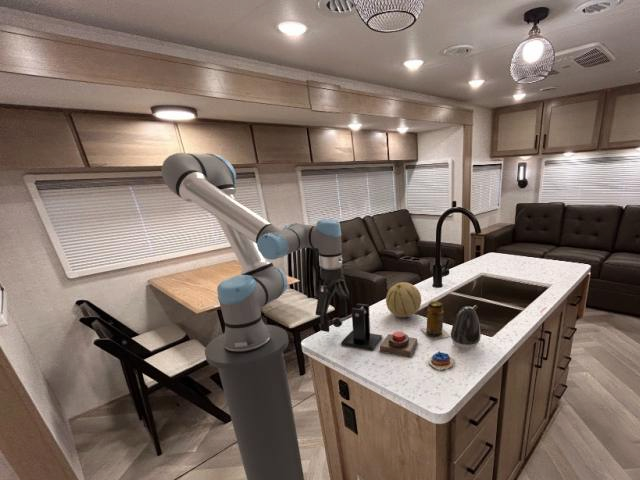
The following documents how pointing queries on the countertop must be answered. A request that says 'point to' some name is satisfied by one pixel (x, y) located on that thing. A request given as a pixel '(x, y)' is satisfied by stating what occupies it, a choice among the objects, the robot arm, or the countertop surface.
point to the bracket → (361, 330)
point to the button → (398, 336)
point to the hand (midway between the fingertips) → (334, 322)
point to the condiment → (435, 321)
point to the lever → (343, 319)
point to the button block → (398, 345)
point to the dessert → (441, 361)
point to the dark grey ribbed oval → (466, 329)
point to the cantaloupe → (403, 299)
